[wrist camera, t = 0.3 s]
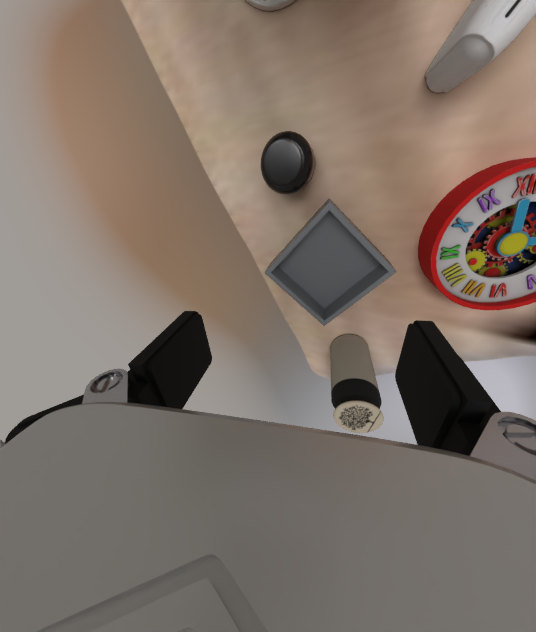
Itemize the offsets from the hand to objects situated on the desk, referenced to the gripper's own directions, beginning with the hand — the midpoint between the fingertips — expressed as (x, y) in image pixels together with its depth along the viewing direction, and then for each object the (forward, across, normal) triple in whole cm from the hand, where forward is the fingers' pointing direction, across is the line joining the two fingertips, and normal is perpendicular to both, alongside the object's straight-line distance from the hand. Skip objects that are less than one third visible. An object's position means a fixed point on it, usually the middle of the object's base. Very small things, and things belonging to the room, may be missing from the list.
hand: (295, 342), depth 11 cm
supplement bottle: (+35, +4, -8) cm, 36 cm away
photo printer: (+35, -16, -19) cm, 43 cm away
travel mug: (+35, -8, +27) cm, 45 cm away
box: (+35, -2, +7) cm, 35 cm away
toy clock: (+35, -26, +3) cm, 44 cm away
